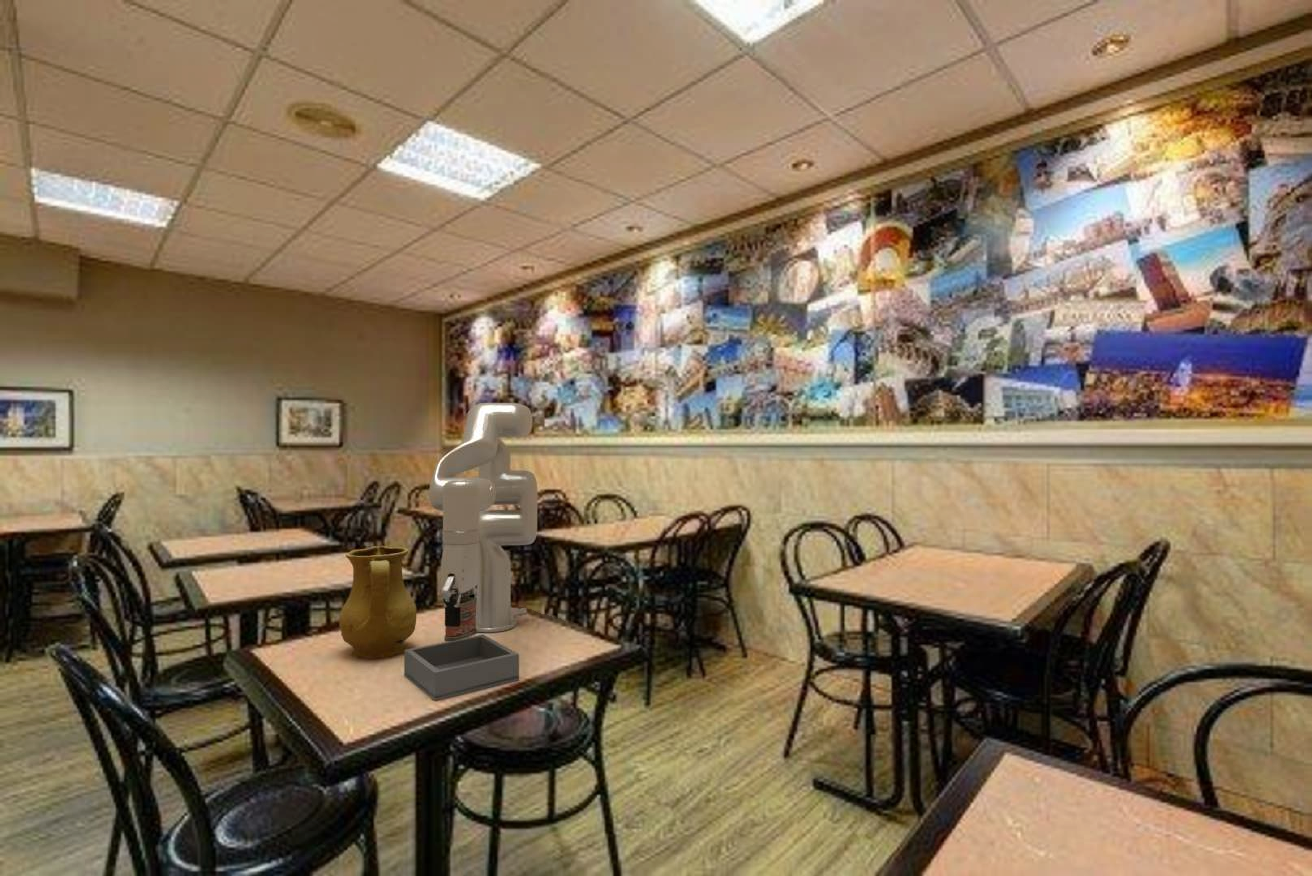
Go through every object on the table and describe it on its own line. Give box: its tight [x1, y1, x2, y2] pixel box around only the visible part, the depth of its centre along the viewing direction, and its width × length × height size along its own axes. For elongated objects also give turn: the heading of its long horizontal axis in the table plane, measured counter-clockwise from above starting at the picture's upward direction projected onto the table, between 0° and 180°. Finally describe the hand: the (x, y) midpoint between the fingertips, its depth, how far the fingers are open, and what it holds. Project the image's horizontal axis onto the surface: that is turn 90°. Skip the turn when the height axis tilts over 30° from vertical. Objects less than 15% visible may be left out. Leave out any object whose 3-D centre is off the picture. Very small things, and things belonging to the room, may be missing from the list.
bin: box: [403, 634, 520, 702], centre depth 141 cm, size 18×18×6 cm
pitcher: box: [338, 545, 417, 660], centre depth 158 cm, size 17×19×25 cm
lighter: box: [444, 588, 478, 642], centre depth 141 cm, size 8×3×10 cm, turn 150°
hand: (460, 620), depth 141 cm, fingers closed on lighter, 7 cm apart
